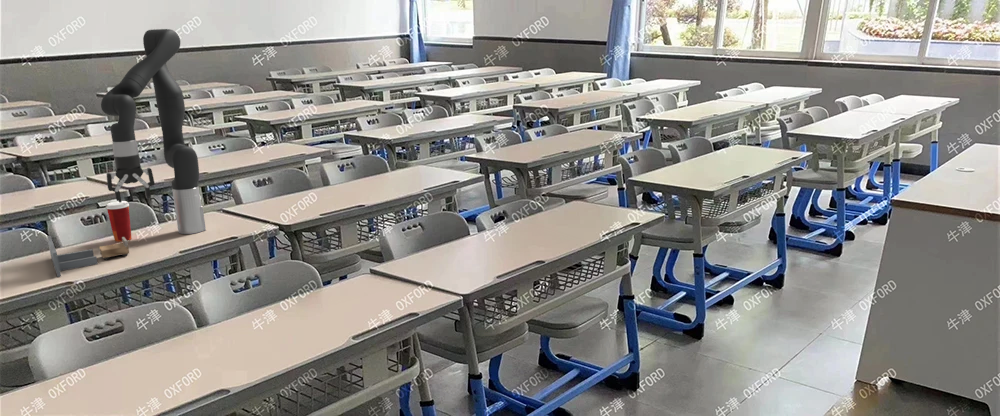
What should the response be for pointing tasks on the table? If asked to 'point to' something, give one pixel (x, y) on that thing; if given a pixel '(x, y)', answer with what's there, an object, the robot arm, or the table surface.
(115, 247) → the walnut cart
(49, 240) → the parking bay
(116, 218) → the paper cup
